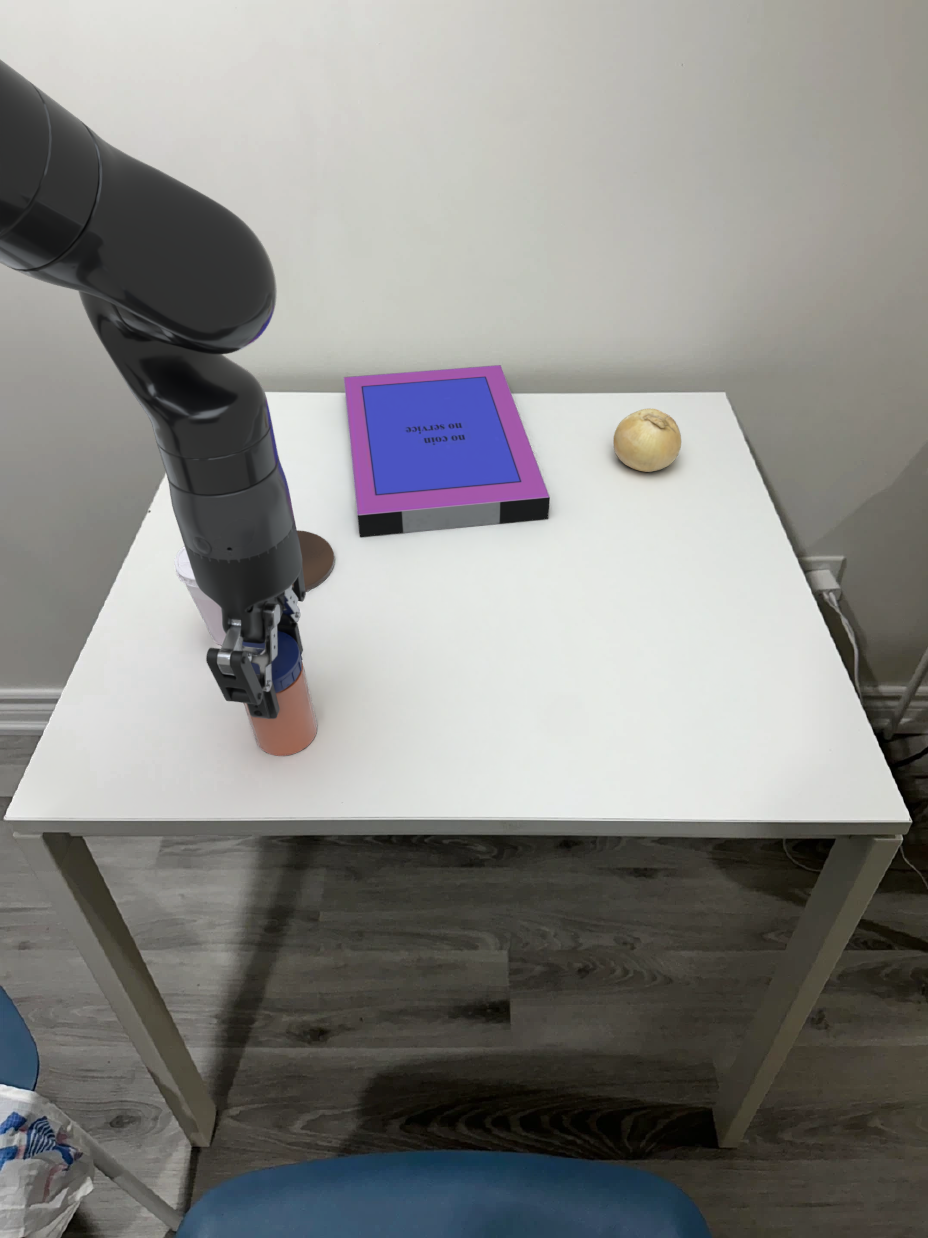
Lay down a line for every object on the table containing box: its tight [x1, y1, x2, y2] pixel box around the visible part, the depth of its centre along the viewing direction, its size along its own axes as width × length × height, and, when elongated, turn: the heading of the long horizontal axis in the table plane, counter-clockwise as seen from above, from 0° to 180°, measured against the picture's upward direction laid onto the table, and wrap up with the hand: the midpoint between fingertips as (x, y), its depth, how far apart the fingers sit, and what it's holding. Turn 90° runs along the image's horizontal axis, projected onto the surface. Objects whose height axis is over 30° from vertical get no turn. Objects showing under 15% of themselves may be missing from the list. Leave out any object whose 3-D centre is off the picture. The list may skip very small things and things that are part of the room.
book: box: [343, 364, 551, 538], centre depth 103 cm, size 21×3×30 cm
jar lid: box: [243, 631, 304, 693], centre depth 67 cm, size 6×6×2 cm
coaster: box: [292, 529, 335, 592], centre depth 89 cm, size 10×10×1 cm
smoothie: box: [173, 546, 226, 646], centre depth 77 cm, size 6×6×14 cm
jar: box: [242, 661, 318, 757], centre depth 71 cm, size 5×5×9 cm
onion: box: [612, 408, 682, 473], centre depth 100 cm, size 8×8×7 cm
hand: (278, 683), depth 69 cm, fingers closed on jar lid, 6 cm apart
